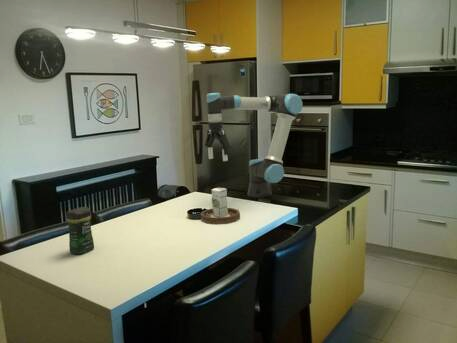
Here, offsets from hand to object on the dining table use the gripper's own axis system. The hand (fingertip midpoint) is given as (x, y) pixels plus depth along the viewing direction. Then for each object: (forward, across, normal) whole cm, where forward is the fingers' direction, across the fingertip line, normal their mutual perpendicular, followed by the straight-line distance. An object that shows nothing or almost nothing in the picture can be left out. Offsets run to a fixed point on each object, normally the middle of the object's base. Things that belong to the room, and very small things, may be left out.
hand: (218, 159), depth 226 cm
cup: (+28, 0, -1) cm, 28 cm away
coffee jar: (+26, +13, -83) cm, 88 cm away
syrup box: (+26, +17, -13) cm, 34 cm away
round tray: (+27, +17, -13) cm, 35 cm away
